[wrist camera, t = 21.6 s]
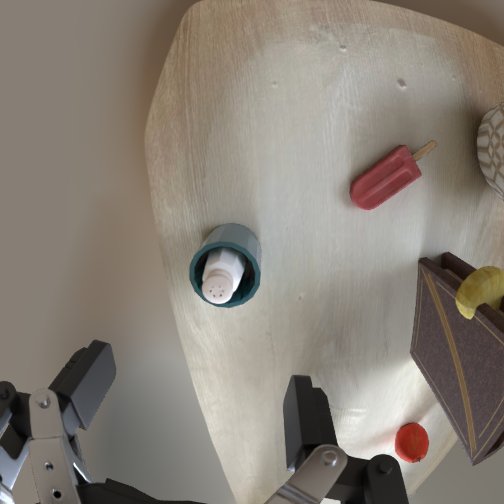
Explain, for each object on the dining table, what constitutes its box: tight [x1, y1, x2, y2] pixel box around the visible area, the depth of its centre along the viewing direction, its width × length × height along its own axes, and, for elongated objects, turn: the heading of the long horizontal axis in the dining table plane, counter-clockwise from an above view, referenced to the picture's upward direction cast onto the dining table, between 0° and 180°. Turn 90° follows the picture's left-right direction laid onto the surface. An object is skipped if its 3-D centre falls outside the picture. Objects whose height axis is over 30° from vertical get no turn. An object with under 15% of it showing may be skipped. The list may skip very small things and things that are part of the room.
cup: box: [189, 224, 261, 308], centre depth 32 cm, size 7×7×8 cm
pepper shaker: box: [202, 246, 249, 304], centre depth 30 cm, size 5×5×11 cm
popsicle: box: [350, 140, 437, 210], centre depth 31 cm, size 4×2×15 cm
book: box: [410, 252, 504, 466], centre depth 26 cm, size 22×8×25 cm, turn 11°
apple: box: [395, 423, 429, 463], centre depth 43 cm, size 8×8×11 cm
